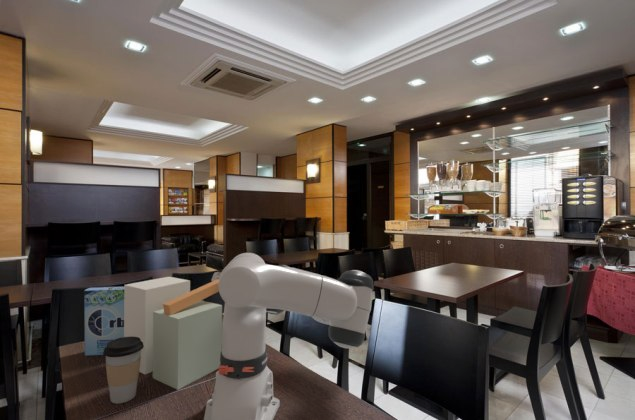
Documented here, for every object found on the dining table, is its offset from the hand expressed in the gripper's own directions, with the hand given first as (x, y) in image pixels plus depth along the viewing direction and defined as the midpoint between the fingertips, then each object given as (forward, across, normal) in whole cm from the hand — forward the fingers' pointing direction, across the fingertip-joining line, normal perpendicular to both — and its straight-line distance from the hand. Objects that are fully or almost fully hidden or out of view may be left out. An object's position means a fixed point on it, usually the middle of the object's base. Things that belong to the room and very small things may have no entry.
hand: (221, 274), depth 114 cm
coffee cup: (+13, +3, -40) cm, 43 cm away
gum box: (+1, +33, -34) cm, 47 cm away
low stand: (-2, 0, -31) cm, 31 cm away
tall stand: (-2, +16, -31) cm, 35 cm away
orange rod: (+4, 0, -9) cm, 10 cm away
